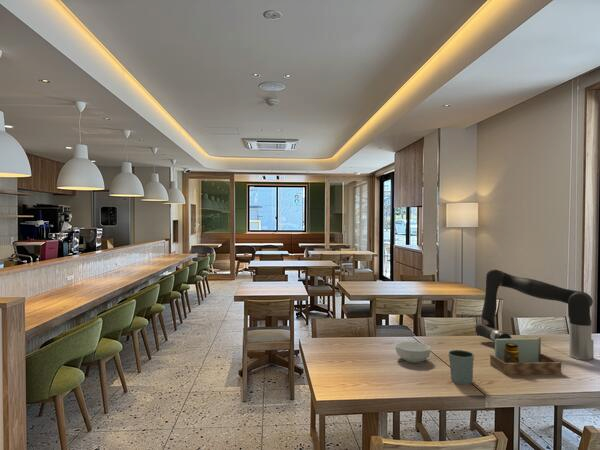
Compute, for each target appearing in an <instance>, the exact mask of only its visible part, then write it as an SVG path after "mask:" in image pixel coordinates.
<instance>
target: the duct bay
mask: <svg viewBox="0 0 600 450" xmlns="http://www.w3.org/2000/svg"><path fill="white" fill-rule="evenodd" d="M489 355H490V356H489V359H490V361H489V362H490V364H489V365H490V367H493V368H494V369H495V370H497V371H499V372H500V373H502V374H503V375H505V376H513V375H515V376H519V375H520V376H522V375H523V376H524V375H561V374H562V362H560V361H558V360H556V359H554V358H551V357H550V356H547V355H546V354H543V353H541V354H540V358H541V362H540V363H505V362H504V361H502V360H500V359H499V358H497V357H495V354H489Z"/></svg>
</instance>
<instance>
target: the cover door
mask: <svg viewBox="0 0 600 450" xmlns="http://www.w3.org/2000/svg"><path fill="white" fill-rule="evenodd" d="M506 343H515V344H517V345H518V351H519V363H540V362H541V358H540V354H542V353H541V352H542V346H541V345H542V341H541V337H538V338H537V337H535V338H512V339H495V343H494V356H495V357H497V358H499V359H500V360H502V361H504V349H505V344H506Z"/></svg>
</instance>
